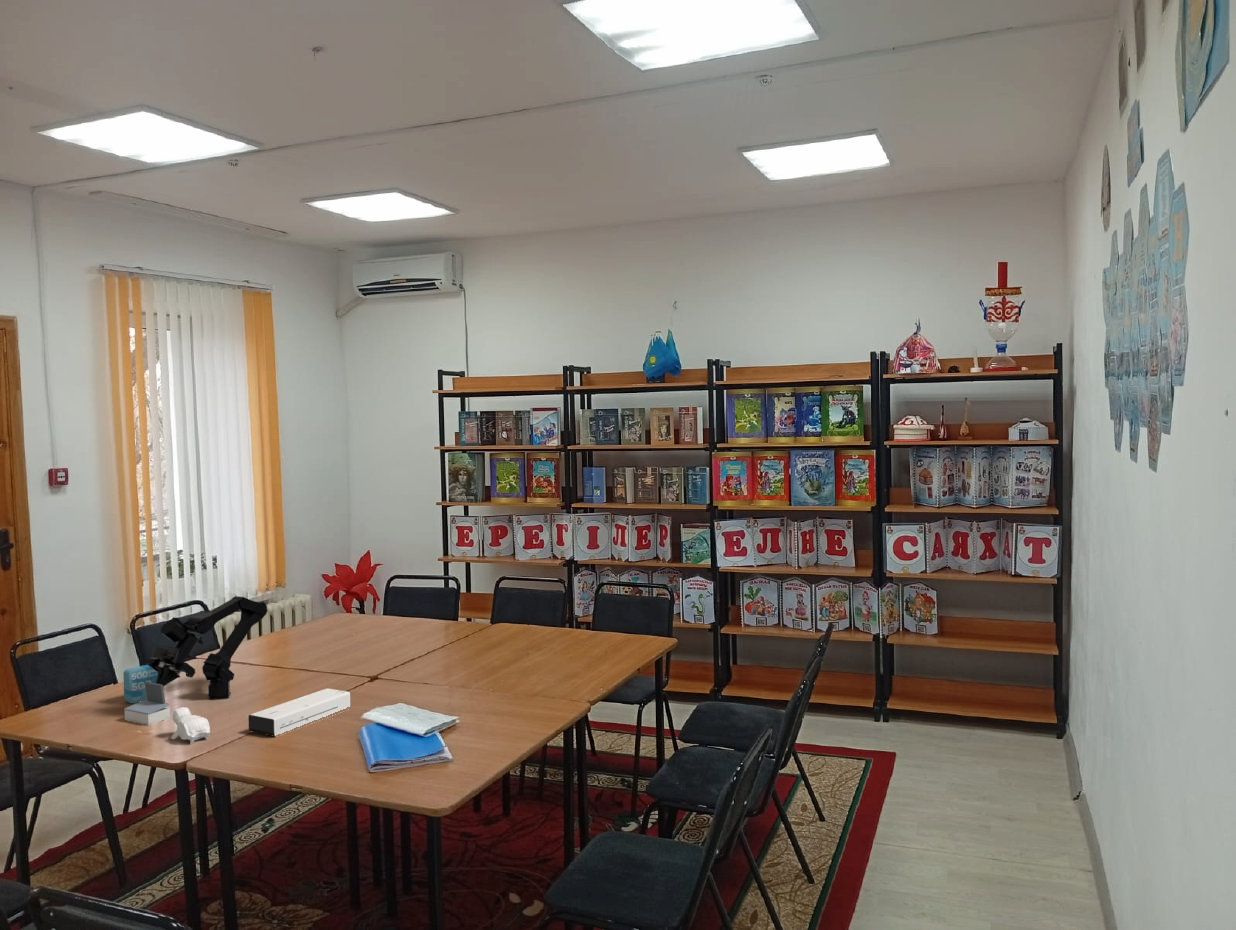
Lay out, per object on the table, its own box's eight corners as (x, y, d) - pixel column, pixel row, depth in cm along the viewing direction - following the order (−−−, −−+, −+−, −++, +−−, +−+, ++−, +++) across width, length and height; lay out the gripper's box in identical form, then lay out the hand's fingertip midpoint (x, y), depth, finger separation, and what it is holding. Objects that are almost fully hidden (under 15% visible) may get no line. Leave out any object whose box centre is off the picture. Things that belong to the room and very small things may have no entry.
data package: (129, 704, 322) (128, 671, 322) (123, 702, 325) (123, 669, 324) (163, 697, 331) (163, 664, 331) (158, 694, 334) (157, 662, 334)
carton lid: (146, 700, 311) (143, 681, 310) (169, 705, 306) (166, 685, 305) (124, 710, 304) (121, 690, 303) (148, 714, 299) (145, 694, 298)
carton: (146, 713, 311) (146, 703, 311) (170, 718, 306) (169, 708, 306) (124, 720, 304) (124, 710, 304) (148, 725, 299) (148, 714, 299)
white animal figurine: (211, 746, 287) (188, 721, 295) (216, 724, 285) (192, 698, 293) (184, 754, 280) (161, 728, 288) (189, 731, 278) (166, 705, 286)
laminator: (273, 739, 286) (273, 719, 286) (246, 733, 292) (245, 714, 292) (351, 709, 317) (350, 691, 316) (324, 704, 322) (324, 687, 322)
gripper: (149, 634, 316) (121, 674, 307) (185, 639, 307) (158, 681, 298) (170, 650, 323) (144, 690, 314) (206, 656, 315) (180, 697, 306)
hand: (156, 689), depth 308 cm, fingers closed, pressing on carton lid
